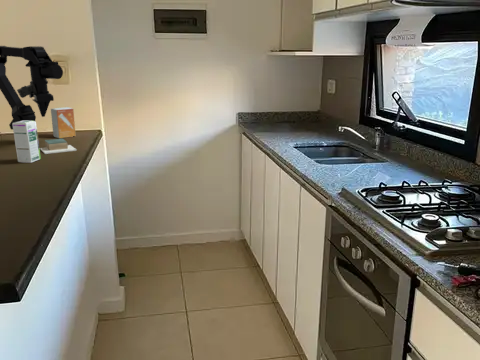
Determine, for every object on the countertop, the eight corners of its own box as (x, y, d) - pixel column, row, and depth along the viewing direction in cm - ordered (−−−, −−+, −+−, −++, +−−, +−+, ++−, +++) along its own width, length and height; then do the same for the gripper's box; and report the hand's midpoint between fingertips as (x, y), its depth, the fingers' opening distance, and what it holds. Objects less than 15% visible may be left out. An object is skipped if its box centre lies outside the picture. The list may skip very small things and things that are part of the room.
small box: (59, 138, 209) (56, 109, 205) (53, 136, 213) (50, 108, 209) (76, 136, 214) (73, 108, 211) (70, 134, 219) (67, 106, 215)
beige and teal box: (44, 140, 189) (48, 143, 182) (62, 138, 192) (67, 141, 186) (45, 146, 190) (49, 150, 183) (63, 145, 193) (67, 148, 187)
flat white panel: (39, 149, 188) (39, 148, 187) (70, 146, 194) (70, 144, 194) (44, 154, 180) (44, 152, 179) (76, 150, 186) (76, 149, 186)
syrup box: (31, 163, 166) (26, 122, 162) (17, 162, 167) (11, 122, 163) (41, 159, 171) (36, 120, 167) (27, 158, 172) (22, 119, 168)
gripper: (13, 77, 191) (18, 115, 196) (21, 80, 176) (26, 121, 181) (42, 76, 197) (46, 113, 202) (51, 79, 182) (56, 119, 187)
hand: (43, 116), depth 192 cm, fingers closed
